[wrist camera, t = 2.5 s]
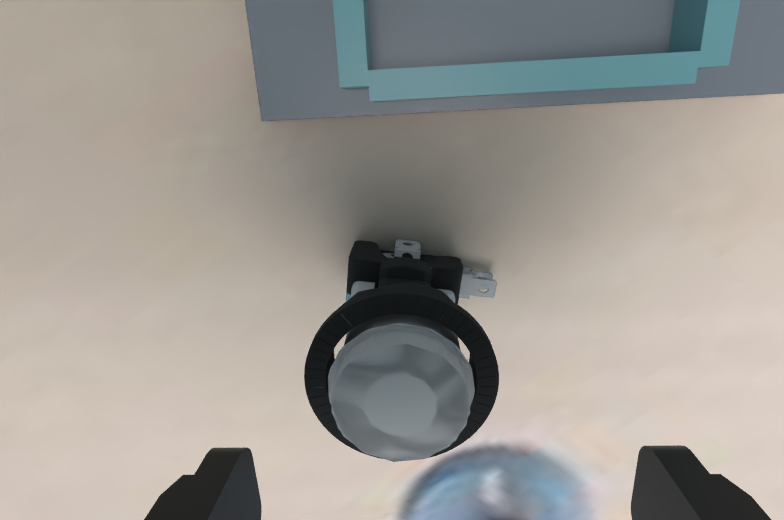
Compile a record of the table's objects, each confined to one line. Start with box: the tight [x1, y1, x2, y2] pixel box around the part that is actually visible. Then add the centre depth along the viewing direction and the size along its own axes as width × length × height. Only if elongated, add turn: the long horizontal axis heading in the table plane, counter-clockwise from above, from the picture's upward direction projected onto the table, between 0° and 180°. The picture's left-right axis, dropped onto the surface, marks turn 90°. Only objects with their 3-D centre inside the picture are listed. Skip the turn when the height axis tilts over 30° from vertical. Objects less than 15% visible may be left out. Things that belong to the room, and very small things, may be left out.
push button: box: [304, 240, 499, 462], centre depth 16 cm, size 7×5×10 cm
